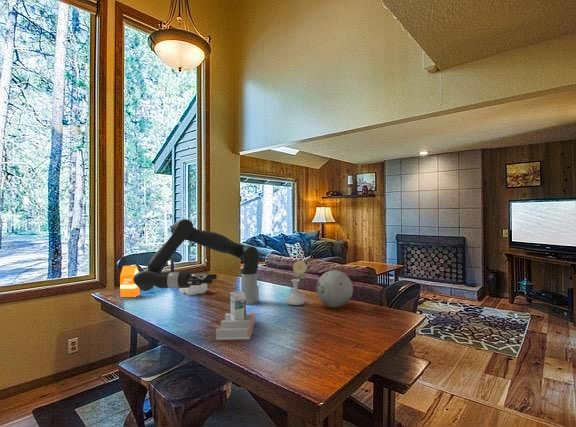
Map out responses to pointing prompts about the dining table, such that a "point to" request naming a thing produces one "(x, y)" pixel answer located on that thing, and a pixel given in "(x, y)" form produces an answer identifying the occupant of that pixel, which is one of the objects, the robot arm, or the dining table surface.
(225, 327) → the divided tray
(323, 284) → the moon model
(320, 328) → the dining table surface
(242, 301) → the syrup box
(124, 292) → the orange juice
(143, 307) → the dining table surface
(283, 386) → the dining table surface
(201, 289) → the cable organizer
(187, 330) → the dining table surface
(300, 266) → the flower in vase
